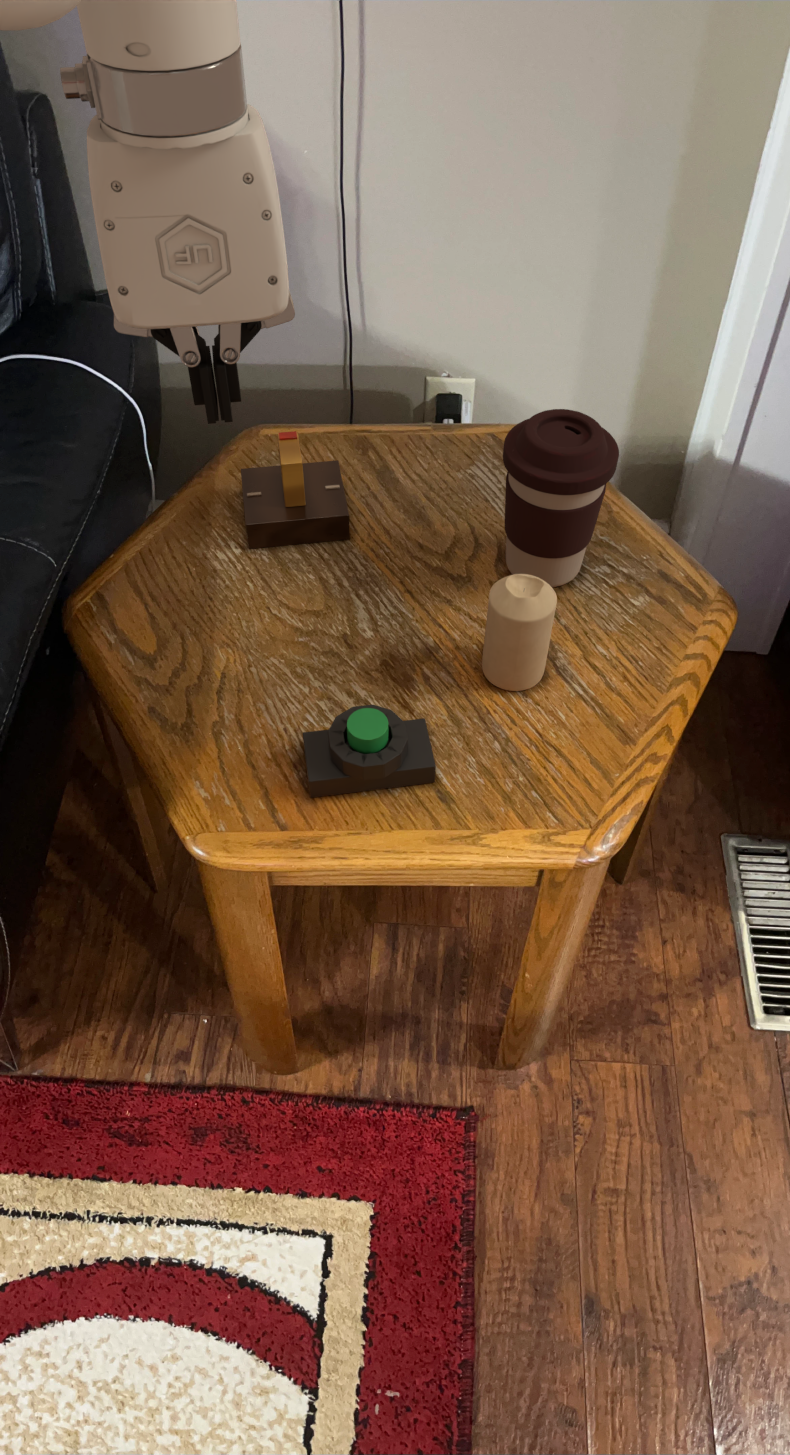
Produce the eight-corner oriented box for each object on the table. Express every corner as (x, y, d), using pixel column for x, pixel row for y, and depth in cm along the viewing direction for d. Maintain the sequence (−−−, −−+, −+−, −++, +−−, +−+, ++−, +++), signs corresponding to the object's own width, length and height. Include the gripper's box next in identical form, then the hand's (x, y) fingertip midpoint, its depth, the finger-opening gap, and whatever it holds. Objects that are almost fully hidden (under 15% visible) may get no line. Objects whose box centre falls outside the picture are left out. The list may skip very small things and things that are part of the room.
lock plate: (249, 548, 96) (245, 523, 94) (243, 492, 102) (240, 467, 99) (350, 539, 97) (349, 513, 94) (339, 484, 103) (338, 458, 100)
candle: (544, 648, 88) (559, 563, 80) (544, 694, 84) (559, 609, 76) (482, 644, 88) (491, 558, 80) (480, 689, 84) (489, 604, 77)
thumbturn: (305, 505, 95) (302, 460, 91) (285, 507, 95) (280, 462, 91) (301, 474, 99) (297, 429, 95) (281, 476, 98) (276, 431, 94)
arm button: (350, 756, 75) (349, 742, 74) (345, 724, 77) (344, 710, 76) (391, 751, 75) (391, 737, 74) (385, 719, 77) (385, 705, 76)
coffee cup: (509, 607, 91) (527, 472, 79) (478, 539, 97) (491, 405, 85) (609, 590, 92) (641, 455, 81) (573, 525, 98) (597, 391, 87)
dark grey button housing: (310, 803, 77) (307, 773, 74) (303, 743, 80) (300, 712, 77) (436, 788, 78) (438, 757, 75) (423, 729, 81) (424, 698, 78)
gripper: (11, 125, 46) (100, 455, 60) (326, 108, 48) (340, 434, 62) (25, 70, 51) (104, 388, 65) (310, 57, 52) (327, 371, 67)
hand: (219, 410), depth 63 cm, fingers closed
